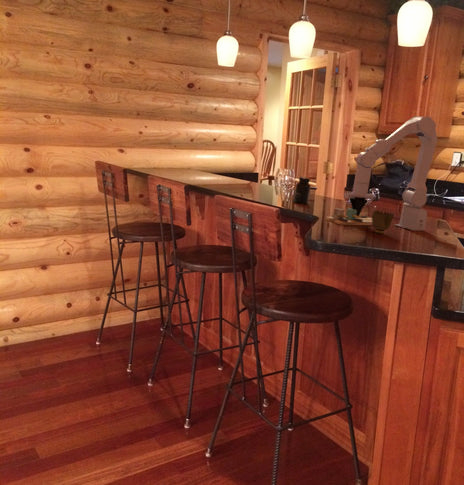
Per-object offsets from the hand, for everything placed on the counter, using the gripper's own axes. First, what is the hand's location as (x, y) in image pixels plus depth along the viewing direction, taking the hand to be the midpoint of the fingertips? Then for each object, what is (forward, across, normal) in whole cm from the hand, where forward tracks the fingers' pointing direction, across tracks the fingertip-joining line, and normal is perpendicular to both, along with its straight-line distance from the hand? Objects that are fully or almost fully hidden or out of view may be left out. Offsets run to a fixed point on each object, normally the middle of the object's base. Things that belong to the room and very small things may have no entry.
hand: (355, 216), depth 207 cm
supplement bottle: (+3, -6, -42) cm, 43 cm away
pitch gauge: (+2, 0, 0) cm, 2 cm away
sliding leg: (+1, +3, +2) cm, 3 cm away
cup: (+3, +6, +19) cm, 20 cm away
